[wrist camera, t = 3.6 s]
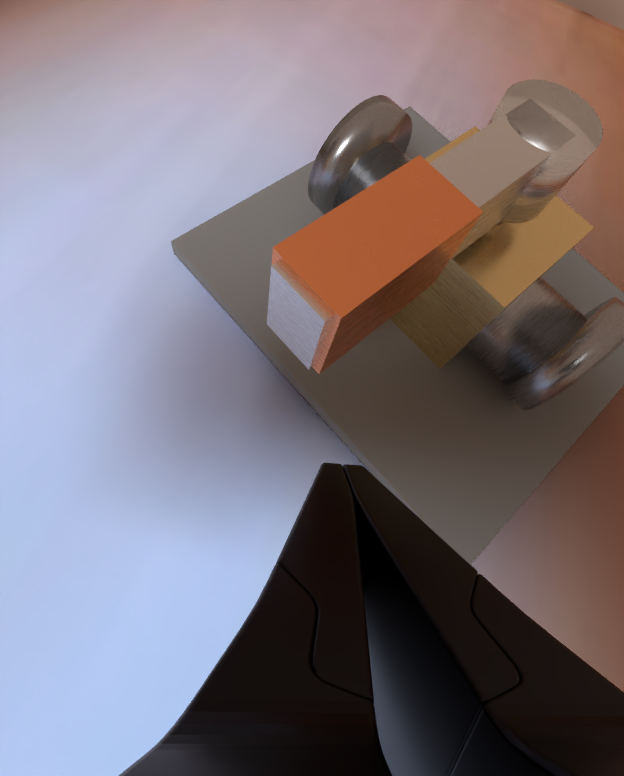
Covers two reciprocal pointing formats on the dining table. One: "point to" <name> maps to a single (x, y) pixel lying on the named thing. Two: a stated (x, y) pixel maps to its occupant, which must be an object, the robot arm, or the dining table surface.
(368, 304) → the valve lever
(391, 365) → the rubber mat
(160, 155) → the dining table surface
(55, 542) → the dining table surface
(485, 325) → the valve body
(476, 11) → the dining table surface
